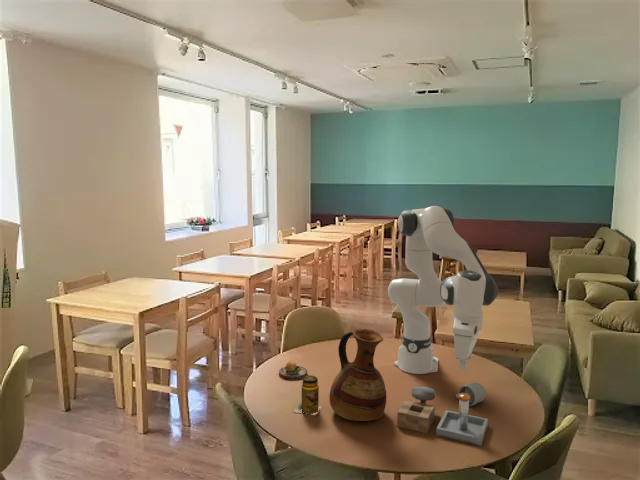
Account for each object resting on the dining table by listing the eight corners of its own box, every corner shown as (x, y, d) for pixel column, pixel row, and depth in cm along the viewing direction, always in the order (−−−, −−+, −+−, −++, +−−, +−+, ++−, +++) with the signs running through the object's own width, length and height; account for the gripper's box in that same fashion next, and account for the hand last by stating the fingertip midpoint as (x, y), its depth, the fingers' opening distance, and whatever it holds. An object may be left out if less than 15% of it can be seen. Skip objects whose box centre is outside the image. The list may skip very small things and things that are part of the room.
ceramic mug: (486, 403, 183) (487, 383, 182) (474, 409, 178) (475, 389, 177) (463, 394, 191) (463, 375, 190) (450, 400, 186) (451, 380, 185)
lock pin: (458, 424, 166) (459, 392, 164) (469, 427, 164) (471, 394, 163) (456, 429, 163) (457, 396, 161) (467, 432, 161) (469, 398, 159)
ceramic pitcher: (371, 434, 161) (373, 344, 157) (318, 417, 171) (318, 333, 167) (395, 410, 177) (397, 328, 173) (345, 396, 188) (347, 319, 184)
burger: (312, 376, 206) (312, 359, 206) (288, 383, 200) (288, 365, 199) (297, 367, 216) (297, 350, 215) (273, 373, 210) (273, 356, 209)
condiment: (315, 416, 172) (316, 383, 171) (293, 412, 175) (293, 379, 173) (322, 406, 179) (322, 375, 178) (300, 403, 182) (300, 372, 180)
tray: (445, 416, 173) (445, 410, 172) (487, 425, 167) (488, 418, 166) (436, 435, 160) (436, 428, 160) (481, 446, 154) (481, 438, 154)
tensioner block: (412, 404, 182) (412, 384, 181) (439, 409, 177) (440, 389, 176) (397, 426, 166) (397, 404, 165) (426, 433, 161) (427, 411, 160)
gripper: (463, 312, 169) (461, 351, 171) (451, 330, 151) (449, 373, 153) (482, 314, 166) (480, 354, 168) (472, 333, 148) (470, 377, 150)
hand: (465, 363), depth 160 cm, fingers open, 8 cm apart
